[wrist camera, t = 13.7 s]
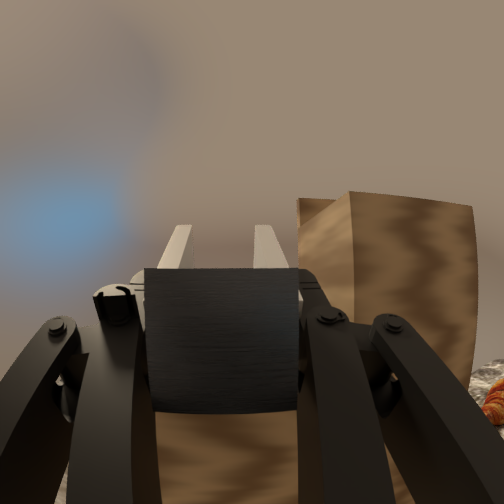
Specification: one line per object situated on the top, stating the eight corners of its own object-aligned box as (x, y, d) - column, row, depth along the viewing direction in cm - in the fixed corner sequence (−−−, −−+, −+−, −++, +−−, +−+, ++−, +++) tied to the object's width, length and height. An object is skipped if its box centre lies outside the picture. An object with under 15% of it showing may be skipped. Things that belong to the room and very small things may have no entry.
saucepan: (55, 477, 4) (16, 265, 5) (172, 342, 25) (170, 279, 26) (407, 470, 5) (433, 264, 6) (279, 341, 26) (278, 278, 26)
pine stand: (162, 557, 11) (117, 137, 14) (178, 478, 25) (163, 199, 28) (433, 510, 14) (473, 168, 17) (378, 456, 27) (391, 206, 31)
